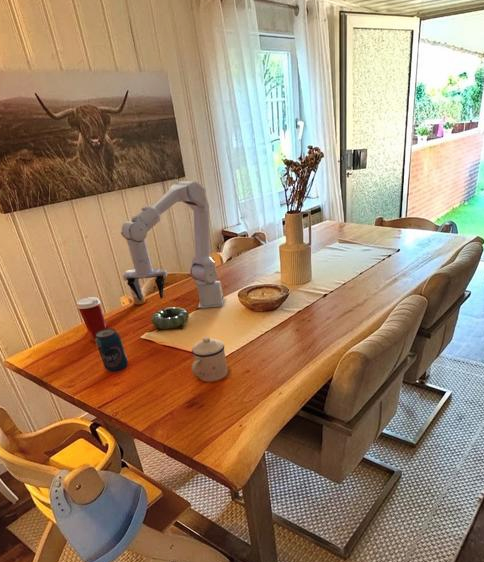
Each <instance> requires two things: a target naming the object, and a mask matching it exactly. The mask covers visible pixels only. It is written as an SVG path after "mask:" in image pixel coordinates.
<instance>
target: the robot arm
mask: <svg viewBox="0 0 484 562" xmlns="http://www.w3.org/2000/svg"><path fill="white" fill-rule="evenodd" d="M179 202H181V203H184V204H186V205H187V206H188V207H189V208H190V209H191V210H192V211H193V233H194V257H193V258H192V259H191V266H190V269H189V274H190V277H191V278H192V279H193V280H194V282H195V286H196V289H197V296H198V301H199V303H198V305H197V308H198V309H207V308H208V309H209V308H219V307H223V305H224V304H223V303H224V301H225V298H224V295H223V293H224V292H223V286H222V282H221V281H220V280H217V279H218V271H217V268H216V262H215V261H214V259H212V257H211V238H210V237H211V233H210V231H211V230H210V204H209V201H208V199H207V196H206V188H205V187H204V186H203V185H202V184H201V183H200V182H198V181H187V180H177V181H176V182H175V183H174V184H172V185H171V186H170V188H169V189H168V190H167V191H166V192H165V194H163V195H162V197H161V198H160V199H159V200H157V202H155V204H154V205H152V206H151V205H146V206H144V205H143V206H142V207H141V211H139V213H137V214H136V215H135V216H134V215H133V216H132V217H131V220H127V221H125V222H123V224H122V227H121V231H120V234H121V236H122V238H123V239H125V240H126V243H127V246H128V250H129V254H130V257H131V261H132V264H133V269H135V272H131V273H123V274H122V278H123V280H124V281H125V282H126V281H127V282H126V284H127V286H129V288H130V287H131V289H132V290H133V291H134V292H135V294H136V295H137V297H138V299H139V300H141V299H142V295H141V291H140V288H139V283H138V279H139V280H142V279H152V278H155V280H154V282H155V284H156V286H157V290H158V294H159V298H160V299H163V298H164V286H165V280H166V278H167V277H168V272H167V269H153V266H152V262H151V257H150V254H149V249H148V245H147V242H146V238H147V236H148V232H149V231H150V230H152V229H153V228H154V227H155V226H156V225H157V224H158V223H159V222H160V221H161V215H163V214H164V213H165V212H166V211H168V210H169V209H170V208H171V207H172V206H174V205H175V204H176V203H179ZM131 289H130V290H131Z"/></svg>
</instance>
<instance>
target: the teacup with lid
mask: <svg viewBox="0 0 484 562" xmlns="http://www.w3.org/2000/svg"><path fill="white" fill-rule="evenodd" d="M191 353H192V354H193V359H194V361H193V362H192V363H191V366H190V368H191V373H192V374H193V375H194V376H195V377H198V378H199V380H201V381H203V382H207V383H208V382H210V383H211V382H217V381H220V380H223V379H224V378H225V377H227V375H228V372H229V370H228V369H229V368H228V365H227V363H228V362H227V359H226V352H225V344H224V342H222V341H221V340H220V339H215V338H210V337H209V336H204V337H203V338H202V340H200V341H198V342H196V343H195V344H193V346H192V348H191Z"/></svg>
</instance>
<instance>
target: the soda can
mask: <svg viewBox="0 0 484 562" xmlns="http://www.w3.org/2000/svg"><path fill="white" fill-rule="evenodd" d="M95 341H96V342H95V344H96V347H97V351H98V352H99V355H100V358H101V361H102V364H103V367H104V369H105V370H107V371H108V372H109V373H119V372H122V371H124V370H125V369H126V368H127V367H128V364H129V360H128V357H127V354H126V351H125V348H124V344H123V342H122V339H121V336H120V333H119V332H118V331H116V329H115V328H112V327H109V328H107V329H103V330H100V331H98V332H97V333H96V339H95Z"/></svg>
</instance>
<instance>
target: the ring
mask: <svg viewBox="0 0 484 562" xmlns="http://www.w3.org/2000/svg"><path fill="white" fill-rule="evenodd" d="M171 309H172V313H173V317H171V318H168V316H167V312H166V308H162V309H160V310H158V311H156V312H155V313H153V314H152V316H151V319H150V322H151V325H153V326H154V327H155V328H156V329H157V328H162V329H167V328H174V327H178V326H181V325H182V324H184V323H185V324H186V323H187V322H188V320H189V318H190V313H189V311H187V310H186V309H185V308H182V307H177V306H174V307H171ZM185 324H184V325H185Z"/></svg>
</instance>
